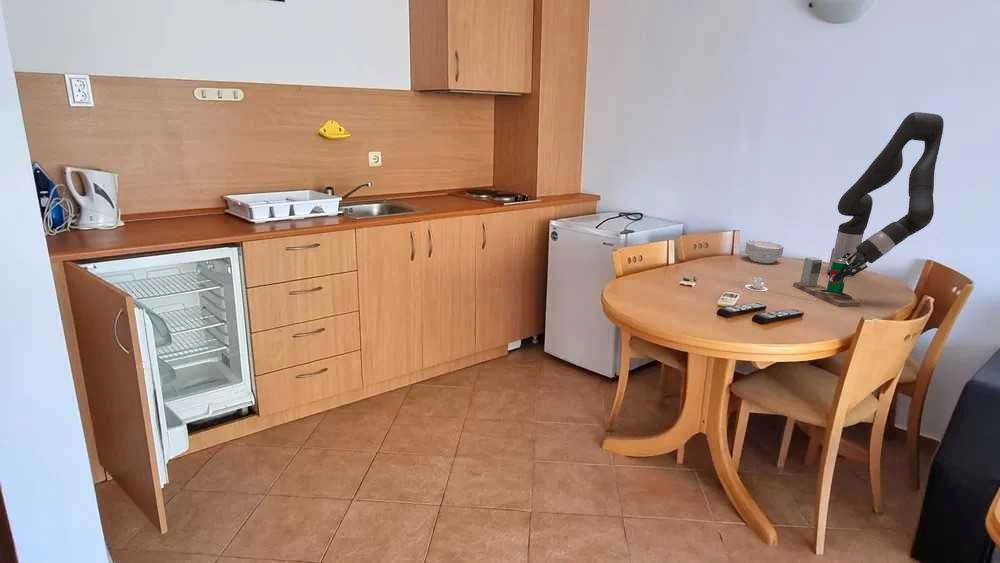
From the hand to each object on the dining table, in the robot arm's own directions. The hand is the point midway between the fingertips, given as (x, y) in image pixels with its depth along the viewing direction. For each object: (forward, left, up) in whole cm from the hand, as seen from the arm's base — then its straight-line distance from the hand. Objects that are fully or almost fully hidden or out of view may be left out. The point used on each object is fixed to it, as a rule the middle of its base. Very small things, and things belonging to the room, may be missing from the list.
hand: (831, 277), depth 211 cm
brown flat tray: (-3, +2, -8) cm, 9 cm away
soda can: (+1, +2, -5) cm, 6 cm away
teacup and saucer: (-13, -16, -9) cm, 22 cm away
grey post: (-12, +2, -6) cm, 14 cm away
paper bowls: (-52, +10, -8) cm, 54 cm away
